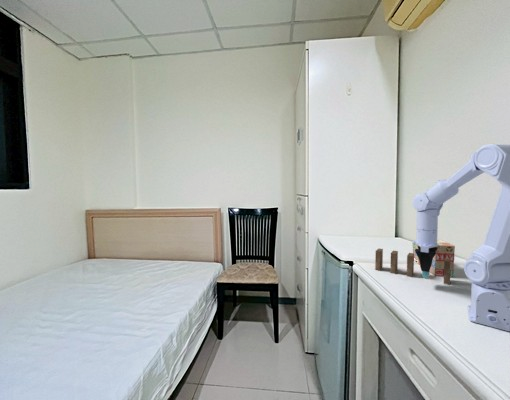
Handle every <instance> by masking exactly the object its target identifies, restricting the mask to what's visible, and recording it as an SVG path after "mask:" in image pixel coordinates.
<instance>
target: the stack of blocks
mask: <svg viewBox="0 0 510 400" xmlns="http://www.w3.org/2000/svg"><path fill="white" fill-rule="evenodd" d="M437 243H438V246H436V247H438V249H437V250H436V254H435V256H434V257H433V260H432V264H431V267H430V271H429V274H431V275H433V276H434V277H443V278H444V260H445V258H450V278H454V273H455V271H454V270H455V269H454V267H455V266H454V265H455V248H456V247H455V245H453V244H451V243H450V242H448V241H444V240H441V239H440V238H437ZM415 249H418V245H417V244H415V243H412V253H414V258H415V259H416V260H418V263H417V264H418V265H419V266H420V262H419V258H418V256H417V254H416V252H415Z"/></svg>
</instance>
